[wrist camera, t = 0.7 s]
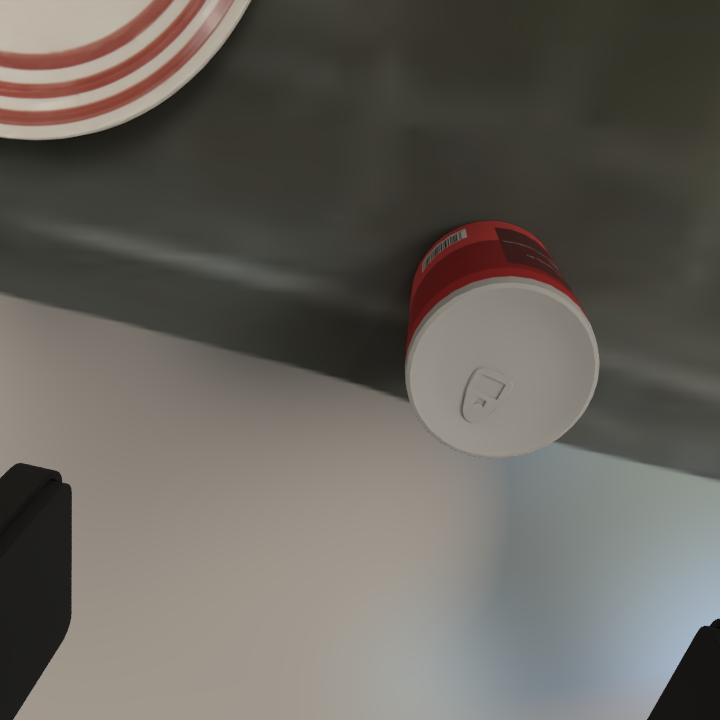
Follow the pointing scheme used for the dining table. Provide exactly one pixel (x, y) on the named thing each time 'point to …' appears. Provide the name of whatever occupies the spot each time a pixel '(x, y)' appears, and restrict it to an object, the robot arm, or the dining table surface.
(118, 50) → the dinner plate
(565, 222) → the dining table surface
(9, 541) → the robot arm
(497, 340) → the canned food
